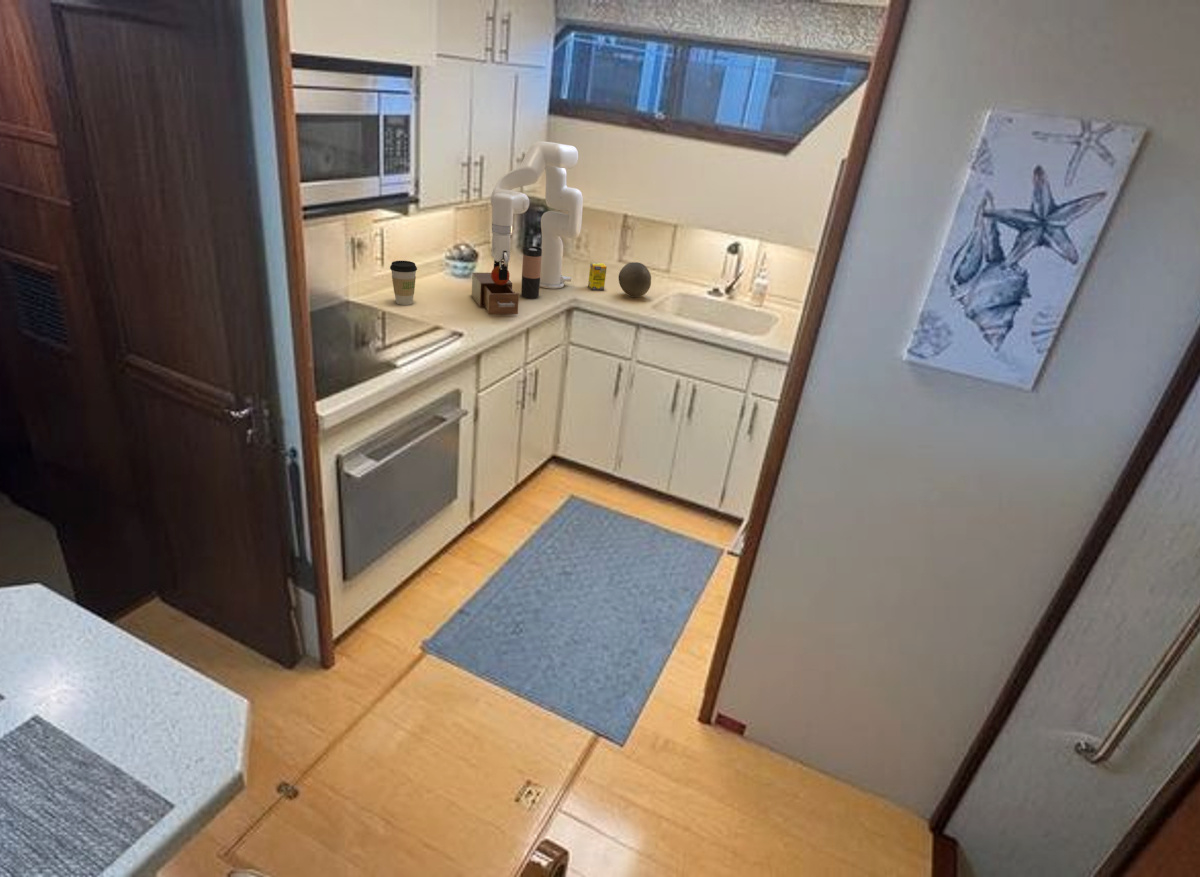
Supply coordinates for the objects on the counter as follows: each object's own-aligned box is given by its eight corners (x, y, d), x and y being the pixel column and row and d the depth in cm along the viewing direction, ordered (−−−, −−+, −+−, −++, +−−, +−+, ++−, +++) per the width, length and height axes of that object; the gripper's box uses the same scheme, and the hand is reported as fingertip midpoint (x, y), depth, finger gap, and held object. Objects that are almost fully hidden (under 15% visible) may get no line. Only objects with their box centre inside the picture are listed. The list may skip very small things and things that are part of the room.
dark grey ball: (628, 290, 314) (632, 257, 306) (654, 298, 307) (659, 264, 300) (610, 295, 303) (614, 261, 296) (637, 304, 296) (642, 269, 289)
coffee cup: (418, 306, 262) (417, 267, 255) (391, 306, 259) (390, 266, 252) (416, 298, 270) (416, 260, 263) (390, 298, 267) (389, 259, 260)
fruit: (512, 284, 265) (513, 264, 261) (502, 288, 259) (503, 267, 255) (497, 280, 267) (498, 260, 263) (487, 284, 262) (487, 263, 258)
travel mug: (535, 300, 285) (539, 251, 276) (518, 297, 286) (520, 248, 277) (541, 295, 292) (544, 247, 283) (523, 292, 293) (526, 245, 284)
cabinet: (511, 306, 274) (512, 283, 270) (480, 307, 269) (480, 283, 265) (501, 295, 286) (502, 272, 281) (471, 295, 281) (472, 272, 277)
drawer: (521, 318, 261) (522, 297, 257) (491, 318, 257) (492, 298, 253) (508, 302, 275) (509, 283, 272) (480, 303, 271) (480, 283, 267)
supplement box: (591, 290, 307) (594, 266, 302) (587, 286, 312) (590, 262, 306) (604, 290, 309) (607, 266, 303) (600, 286, 313) (602, 262, 308)
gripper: (486, 223, 259) (485, 270, 267) (498, 234, 245) (496, 283, 253) (506, 224, 262) (503, 270, 270) (518, 234, 248) (516, 283, 256)
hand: (500, 276), depth 262 cm, fingers closed on fruit, 7 cm apart
